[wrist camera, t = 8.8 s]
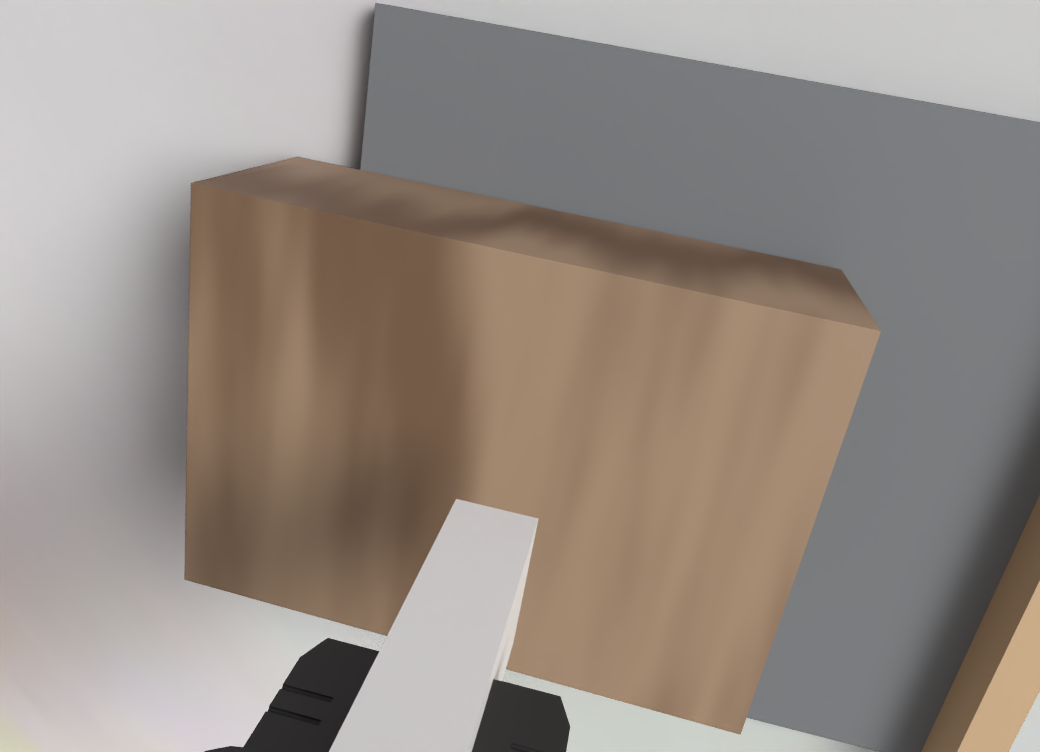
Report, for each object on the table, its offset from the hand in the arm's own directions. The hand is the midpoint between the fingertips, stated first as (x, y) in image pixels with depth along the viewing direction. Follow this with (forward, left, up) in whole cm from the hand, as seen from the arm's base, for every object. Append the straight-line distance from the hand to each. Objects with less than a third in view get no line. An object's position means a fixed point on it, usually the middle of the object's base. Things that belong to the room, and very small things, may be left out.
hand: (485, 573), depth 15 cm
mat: (+4, 0, -9) cm, 10 cm away
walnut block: (-8, 0, -6) cm, 10 cm away
